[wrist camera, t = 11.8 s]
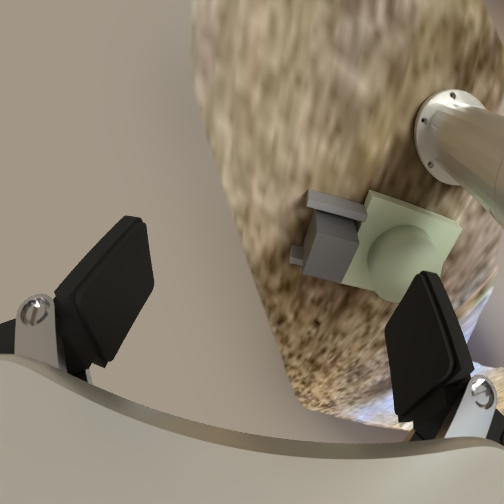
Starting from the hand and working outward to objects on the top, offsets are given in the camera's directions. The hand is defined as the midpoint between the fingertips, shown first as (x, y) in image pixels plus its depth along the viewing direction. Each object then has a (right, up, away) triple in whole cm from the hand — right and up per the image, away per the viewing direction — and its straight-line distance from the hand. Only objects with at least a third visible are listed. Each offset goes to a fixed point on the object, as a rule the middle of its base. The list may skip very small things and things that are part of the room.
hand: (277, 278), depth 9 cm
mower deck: (+16, +2, +27) cm, 32 cm away
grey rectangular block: (+9, +4, +28) cm, 30 cm away
